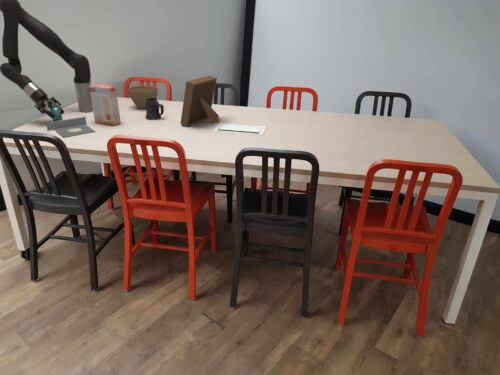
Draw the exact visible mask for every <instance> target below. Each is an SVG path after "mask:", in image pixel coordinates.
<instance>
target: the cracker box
mask: <svg viewBox="0 0 500 375" xmlns="http://www.w3.org/2000/svg"><path fill="white" fill-rule="evenodd" d="M89 89H90V95H91V101H92V107H93V111H92V112H93V117H94V118H93V120H94V123H95V124H101V125H106V126H111V127H112V126H113V127H115V126H118V125H120V124H122V122H121V121H122V120H121V115H120V108H119V101H118V100H119V99H118V92H117V86H115V85H106V84H99V83H95V84H91V85H90V86H89Z"/></svg>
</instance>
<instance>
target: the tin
mask: <svg viewBox="0 0 500 375" xmlns="http://www.w3.org/2000/svg"><path fill="white" fill-rule="evenodd" d="M60 107H61V106H60ZM60 107H59V106H53V107H50V108H49V111H50V112H51V113H52V114H53V115H54V118H51V120H52V122H54V121H61V120H64V119H63V116H62V115H63V114H61V110H60Z"/></svg>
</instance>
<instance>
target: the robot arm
mask: <svg viewBox="0 0 500 375" xmlns="http://www.w3.org/2000/svg"><path fill="white" fill-rule="evenodd" d="M0 12H1V13H2V16H3V32H2V33H3V34H2V46H1V47H2V55H3V57H4V58H6V59H7V61H8V62H4V63H1V65H0V73H1V75H2V76H3V77H4V78H6V79H8V81H10V82H12V83H14V84H15V85H17V86H18V87H19V88H20V89H21V90H22V91H23V92H24V93H25V95H26V96H28V97H29V98H30V100H31V101H33V102H34V103H35V104H34V105H33V106H34V107H35V108H36V109H37V110H38V111H39V112H40V114H42V115H43V114H46V115H47V116H48V117H49V118H50V119H52V118H54V115H53V114H52V113H51V111H50V107H53V106H59V107H60V110H61V114H62V115H64V114H65V110H64V109H63V108H62V107H61V105H62V103H60V101H58V100H57V99H56V98H55V97H54V96H52V97H51V98H49V97H48V94H47V93H46V91H44V89H42V88H41V87H40V86H39V85H38V84H36V83H35V82H34V81H33V80H32V79H31V78H30V77H29V76H28V75H25V74H21V73H22V70H23V69H22V63H21V60H20V57H19V25H21V26H22V28H24V29H25V30H26V31H27V32H28V33H29V34H30V35H31V36H32V37H33V38H34V39H36V40H37V41H38V42H39V43H41V44H42V45H43V46H45V47H46V48H47V49H49V50H50V51H51V52H53V53H54V54H56V55H58V56H59V57H60V58H61V59H62V60H63V61H64V62H65V63H66V64H67V65H68V66H69V67H70V68H72V69H73V71H74V77H73V83H74V89H75V95H76V100H77V103H78V104H77V105H78V110H79V112H81V113H90V112H93V107H92V101H91V95H90V89H89V86H90V85H92V83H91V81H92V80H91V78H92V75H91V68H90V67H91V65H90V62H89V59H88V58H87V56H85V55H83V54H79V53H77V52H75V51H74V50H73V49H71V48H70V47H68V45H66V44H65V42H64V41H63V40H62V39H61V37H60V36H59V34H57V33H56V32H55V31H53V29H51V28H50V27H49V26H47V25H46V24H45V23H43V22H42V21H40V20H39V19H37V17H34V16H33V15H31V14H30V13H29V12H28V11H26V10H25V9H24V8H23V7H22V6H21V3H20V1H19V0H0Z"/></svg>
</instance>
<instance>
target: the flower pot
mask: <svg viewBox="0 0 500 375" xmlns="http://www.w3.org/2000/svg"><path fill="white" fill-rule="evenodd" d="M127 90H128V94H129V98H130V99H131V101H132V102H133V104H134V105H135V106H136V107H137V108H138V109H140V110H146V105H145V102H146V99H147V98H156V99H157V98H158V93H159V88H158V87H157V86H151V85H137V86H132V87H129V88H128V89H127Z"/></svg>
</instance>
